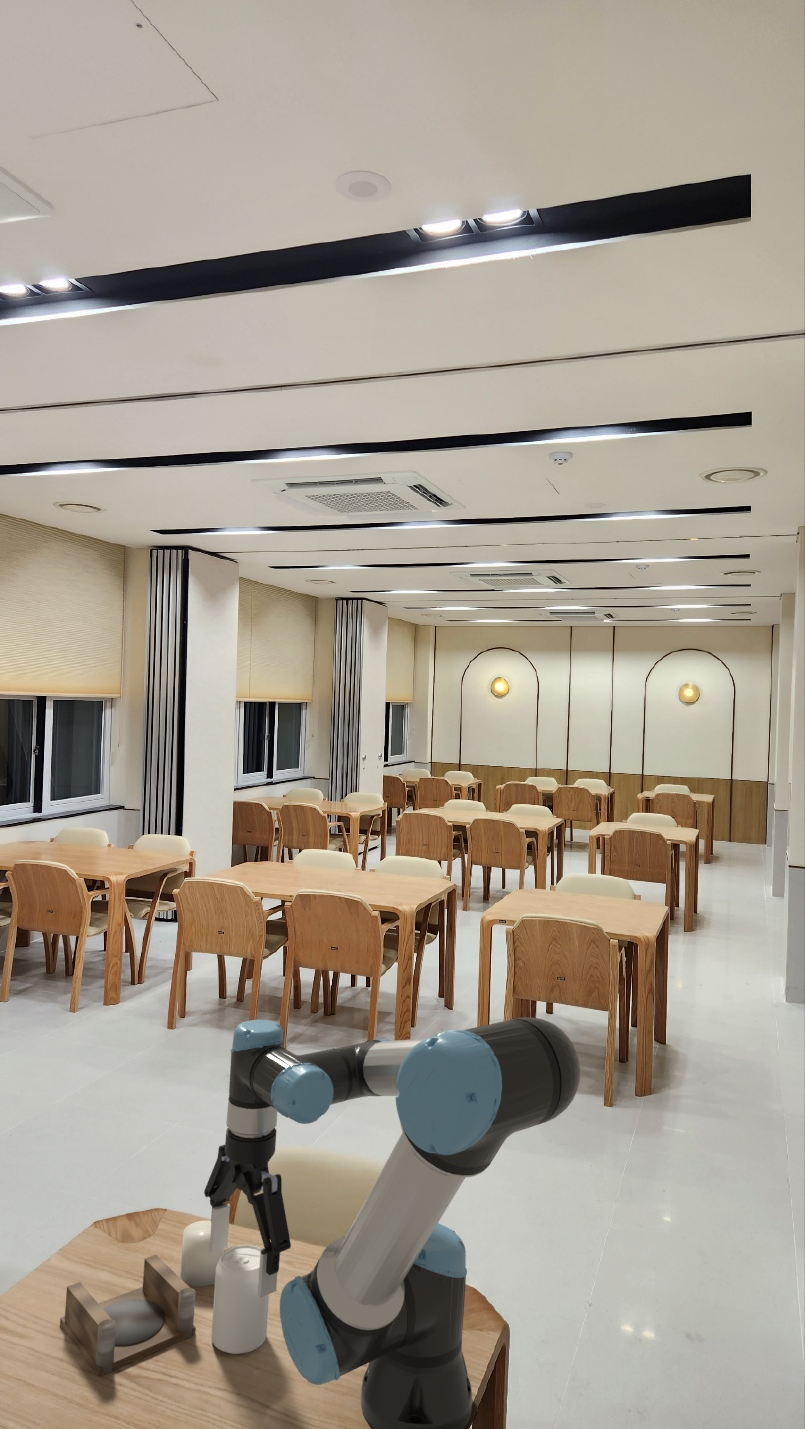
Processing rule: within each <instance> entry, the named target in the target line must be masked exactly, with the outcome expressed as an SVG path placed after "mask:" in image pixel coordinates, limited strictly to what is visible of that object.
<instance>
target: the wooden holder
mask: <svg viewBox="0 0 805 1429" xmlns="http://www.w3.org/2000/svg"><path fill="white" fill-rule="evenodd" d="M143 1265H144V1266H143V1277H142V1278H143V1279H142V1286H141V1287H137V1288H135V1289H133V1290H131V1291H128V1292H125V1293H122V1294H119V1295H117V1296H115V1297H112V1298H109V1299H107V1300H104V1301H101V1302H97V1300H96V1299H95V1298H94V1296H92V1294H91V1293H90V1292H89V1290H87V1288H86V1287H85V1286H84V1285H83V1284H82V1282H80V1281H79V1282H76V1283H73V1284H70V1285H67V1286H66V1294H65V1295H66V1296H65V1312H64V1316H62V1317H60V1320H59V1325H60V1327H61V1328H62V1330H63V1331H64V1332H65V1333H66V1335H67V1336H68V1337H69V1339H70V1340H71V1342H72V1343H73V1345H75V1347H76V1348H77V1349H78V1350H79V1352H80V1353H81V1355H82V1357H84V1359H85V1360H86V1361H87V1362H88V1364H89V1365H90V1367H91V1368H92V1369H93V1370H94V1372H95V1373H96V1375H98V1377H101V1376H103V1375H107V1374H109V1373H112V1371H113V1370H116V1369H119V1368H121V1367H124V1366H126V1365H128V1364H130V1363H133V1362H134V1361H136V1360H139V1359H141V1358H143V1357H146V1356H149V1355H150V1354H153V1353H155V1352H158V1351H159V1350H162V1349H164V1348H167V1347H170V1346H172V1345H174V1344H175V1343H178V1342H180V1341H183V1340H186V1339H189V1338H191V1337H192V1336H194V1335H196V1330H197V1327H196V1326H195V1324H194V1318H195V1305H196V1290H195V1289H194V1288H191V1287H190V1285H188V1284H186V1283H185V1282H184V1281H183V1280H182V1279H181V1276H179V1275H178V1274H177V1273H176V1272H175V1271H174V1270H172V1268H171V1267H170V1266H169V1265H168V1264H167V1263H166V1262H165V1261H163V1260H162V1258H160V1257H159V1256H158V1255H157V1254H154V1255H150V1256H149V1257H145V1258H144V1262H143Z"/></svg>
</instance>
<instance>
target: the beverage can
mask: <svg viewBox="0 0 805 1429" xmlns="http://www.w3.org/2000/svg"><path fill="white" fill-rule="evenodd" d="M261 1249H263V1248H262V1247H259V1246H256V1245H253V1244H252V1245H251V1244H239V1245H235V1246H232V1247H229V1248H227V1249H225V1251H224V1252H223V1253H222V1254H221V1256H220V1260H219V1261H218V1263H217V1266H216V1274H215V1283H214V1291H213V1292H214V1293H213V1308H212V1309H213V1310H212V1324H211V1326H212V1327H211V1342H212V1344H213V1345H214V1346H215V1347H216V1348H217V1349H218V1350H220V1351H221V1352H223V1353H227V1354H234V1355H238V1354H246V1353H250V1352H252V1351H255V1350H257V1349H258V1348H260V1347H261V1346H262V1345H263V1344H264V1342H265V1340H266V1339H267V1334H268V1316H269V1302H270V1300H269V1298H270V1294H268V1295H266V1296H263V1297H261V1298H260V1297H259V1296H258V1281H259V1267H260V1252H261Z"/></svg>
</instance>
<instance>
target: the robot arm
mask: <svg viewBox="0 0 805 1429" xmlns="http://www.w3.org/2000/svg"><path fill="white" fill-rule="evenodd" d="M284 1042H285V1040H284V1030H283V1027H282V1026H281V1025H280V1024H279V1023H277V1022H275V1021H273V1020H266V1019H252V1020H251V1019H250V1020H247V1021H244V1022H241V1023H239V1024H238V1025H236V1027H235V1029H234V1031H233V1039H232V1046H231V1049H230V1054H231V1055H230V1068H229V1069H230V1070H229V1089H228V1090H229V1091H228V1100H227V1101H228V1102H227V1109H226V1110H227V1112H226V1127H227V1128H226V1131H225V1142H224V1144H222V1145H219V1146H218V1151H217V1159H216V1161H215V1164H214V1166H213V1168H212V1171H211V1174H210V1176H209V1178H208V1180H207V1183H206V1185H205V1189H204V1191H203V1194H204V1197H205V1198H208V1197H209V1204H210V1206H211V1220H210V1221H211V1237H210V1252H211V1253H214V1252H216V1251H219V1250H222V1249H224V1248H225V1249H226V1248H227V1249H228V1242H229V1228H230V1226H229V1225H230V1214H231V1213H230V1211H231V1205H230V1204H229V1203H227V1202H230V1201H231V1196H233V1194H234V1193H235V1191H236V1190H237V1189H238V1190H240V1191H242V1193H243V1195H245V1196H246V1199H247V1201H248V1204H250V1205H252V1208H253V1212H254V1216H255V1219H256V1223H257V1226H258V1230H259V1234H260V1237H261V1240H262V1244H263V1248H262V1249H261V1252H260V1267H259V1281H258V1296H259V1297H260V1298H261V1297H263V1296H266V1295H268V1294H269V1295H270V1294H272V1293H274V1292H277V1284H278V1282H277V1281H278V1272H279V1270H280V1260H281V1258H280V1256H281V1253H282V1252H284V1251H287V1250H290V1249H291V1239H290V1233H289V1232H290V1231H289V1226H288V1221H287V1216H286V1210H285V1205H284V1199H283V1197H284V1196H283V1193H282V1187H283V1186H282V1183H283V1182H282V1176H281V1174H280V1173H277V1174H271V1173H270V1170H269V1161H270V1160H271V1158H273V1156H274V1155H275V1153H276V1145H277V1144H276V1142H277V1128H276V1127H277V1123H278V1113H279V1115H281V1116H283V1117H285V1118H288V1119H290V1120H292V1121H294V1122H295V1123H298V1124H303V1125H308V1124H312V1123H315V1122H317V1121H318V1120H319V1118H320V1117H322V1116H323V1115H325V1114H326V1113H327V1112H328V1110H329V1109H330V1107H331V1105H335V1104H340V1103H343V1102H346V1101H350V1100H354V1099H359V1098H360V1099H361V1098H364V1097H365V1098H366V1097H395V1106H396V1112H397V1115H398V1119H399V1122H400V1123H399V1124H400V1127H401V1131H402V1133H401V1134H400V1136H399V1138H398V1139H397V1142H396V1144H395V1146H394V1147H393V1149H392V1151H391V1153H390V1155H389V1156H388V1158H387V1160H386V1162H385V1164H384V1165H383V1167H382V1169H381V1172H380V1173H379V1174H378V1176H377V1178H376V1180H375V1182H374V1184H373V1186H372V1188H371V1189H370V1191H369V1193H368V1195H367V1197H366V1198H365V1200H364V1202H363V1204H362V1205H361V1208H360V1210H359V1211H358V1213H357V1215H356V1217H355V1219H354V1220H353V1222H352V1224H351V1226H350V1227H349V1230H348V1232H347V1233H346V1235H343V1236H341V1237H338V1238H336V1239H334V1240H333V1241H331V1242H330V1243H329V1244H328V1245H327V1246H326V1247H325V1249H324V1250H323V1252H322V1253H321V1255H320V1256H319V1259H318V1260H317V1262H316V1263H315V1266H314V1268H312V1269H313V1270H311V1271H310V1272H309V1273H307V1274H305V1275H302V1276H300V1275H298V1276H295V1277H294V1278H293V1279H292V1280H290V1281H288V1282H287V1283H286V1284H285V1285H284V1287H283V1288H282V1291H281V1293H280V1299H279V1315H280V1322H281V1329H282V1330H281V1331H282V1334H283V1339H284V1342H285V1345H286V1348H287V1351H288V1353H289V1356H290V1358H291V1360H292V1362H293V1365H294V1366H295V1368H296V1369H297V1371H298V1373H299V1374H300V1375H301V1376H302V1378H304V1379H306V1381H307V1382H308V1383H310V1384H311V1385H316V1386H320V1385H324V1384H326V1383H329V1382H333V1381H338V1380H340V1377H342V1376H344V1375H346V1374H348V1373H351V1372H352V1371H354V1370H356V1369H358V1368H360V1367H363V1366H365V1365H367V1364H368V1365H367V1368H366V1370H365V1372H364V1374H363V1378H362V1381H361V1382H362V1383H361V1395H360V1405H361V1410H362V1413H363V1416H364V1417H365V1419H366V1421H367V1423H368V1424H369V1425H370V1426H371V1427H372V1428H373V1429H465V1428H466V1427H467V1425H468V1423H469V1421H470V1420H471V1419H470V1418H471V1415H472V1405H473V1390H472V1385H471V1380H470V1378H469V1375H468V1370H467V1365H466V1360H465V1356H464V1353H463V1328H464V1314H465V1313H464V1312H465V1308H464V1307H465V1298H466V1296H465V1295H466V1280H467V1275H468V1271H467V1268H466V1264H467V1263H466V1258H467V1255H466V1252H467V1251H466V1246H465V1243H464V1242H463V1240H462V1238H461V1237H460V1236H459V1235H458V1234H457V1233H456V1232H455V1231H453V1230H452V1229H450V1228H449V1227H447V1226H445V1225H443V1224H441V1223H439V1222H440V1220H441V1219H442V1217H443V1216H444V1214H445V1212H446V1211H447V1209H448V1208H449V1205H450V1204H451V1202H452V1200H453V1199H454V1197H455V1196H456V1194H457V1192H458V1191H459V1189H460V1187H461V1186H462V1184H463V1182H464V1181H465V1180H466V1178H472V1177H475V1176H478V1175H480V1174H482V1173H484V1172H485V1171H486V1170H487V1168H489V1166H490V1165H491V1164H492V1161H493V1160H494V1159H495V1157H496V1156H497V1154H498V1152H499V1151H500V1149H501V1147H502V1145H504V1143H505V1141H507V1140H506V1139H507V1138H509V1137H510V1136H512V1135H513V1134H514V1133H517V1132H520V1131H523V1130H526V1129H527V1130H528V1129H530V1128H532V1127H535V1126H538V1125H541V1124H544V1123H547V1122H550V1121H552V1120H554V1119H556V1118H557V1117H559V1115H561V1114H562V1113H563V1112H564V1111H566V1110H567V1109H568V1107H569V1106H570V1105H571V1103H572V1102H573V1100H574V1098H575V1096H576V1094H577V1092H578V1090H579V1085H580V1081H581V1066H580V1058H579V1056H578V1052H577V1050H576V1048H575V1045H574V1043H573V1041H572V1040H571V1039H570V1037H569V1036H568V1035H567V1034H566V1032H564V1030H562V1029H561V1028H560V1027H558V1026H557V1025H556V1024H554V1023H553V1022H550V1021H549V1020H545V1019H542V1018H538V1017H525V1016H524V1017H518V1018H513V1019H509V1020H503V1021H499V1022H493V1023H490V1024H485V1025H481V1026H475V1027H471V1028H467V1029H451V1030H445V1031H443V1032H440V1033H438V1034H435V1035H433V1036H430V1037H428V1038H416V1039H415V1038H414V1039H412V1038H411V1039H401V1040H399V1039H398V1040H391V1039H388V1038H381V1039H371V1040H365V1041H363V1042H360V1043H359V1042H358V1043H354V1044H350V1045H345V1046H341V1047H336V1048H329V1049H325V1050H319V1051H314V1052H309V1053H304V1054H295V1053H294V1052H292V1051H290V1050H288V1049H286V1048H285V1047H284ZM261 1191H262V1193H260V1192H261ZM258 1193H259V1194H258Z"/></svg>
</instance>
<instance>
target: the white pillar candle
mask: <svg viewBox="0 0 805 1429" xmlns="http://www.w3.org/2000/svg"><path fill="white" fill-rule="evenodd" d="M210 1237H211V1220H199V1221H195V1222H192V1223H190V1224H188V1225H187V1226H186V1227H185V1228H184V1230H183V1234H182V1248H181V1263H180V1278H181V1279H182V1280H183V1281H184V1282H185V1283H186V1284H187V1285H188V1286H192V1287H208V1286H212V1285H215V1274H216V1266H217V1263H218V1261H219V1260H220V1256H221V1254H222V1253H223V1252H224V1251H225V1250H226V1248H224V1249H222V1250H219V1251H216V1252H214V1253H211V1252H210Z"/></svg>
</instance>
